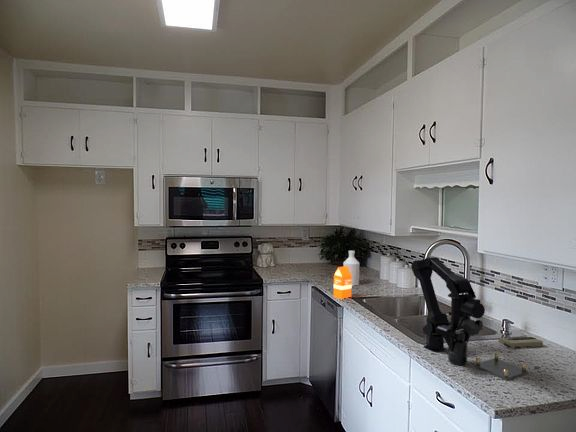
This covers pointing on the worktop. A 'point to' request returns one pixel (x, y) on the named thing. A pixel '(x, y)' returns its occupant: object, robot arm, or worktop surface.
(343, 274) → the orange juice
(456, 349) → the supplement bottle
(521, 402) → the worktop surface
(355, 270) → the bottle
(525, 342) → the olive rectangular tray
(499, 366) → the chassis plate
